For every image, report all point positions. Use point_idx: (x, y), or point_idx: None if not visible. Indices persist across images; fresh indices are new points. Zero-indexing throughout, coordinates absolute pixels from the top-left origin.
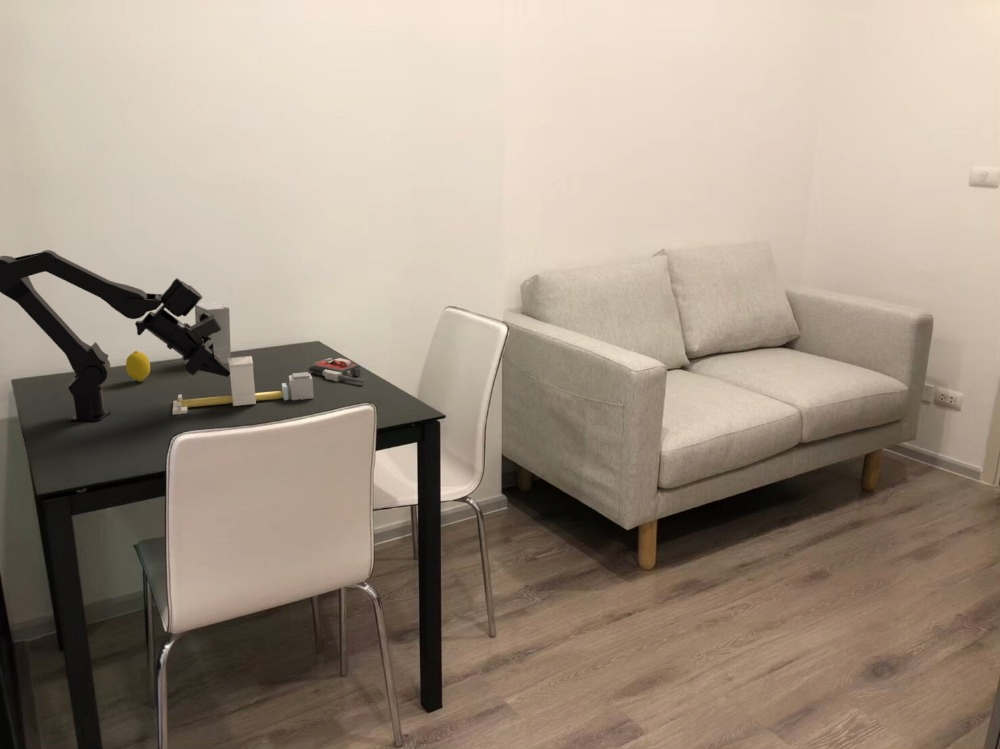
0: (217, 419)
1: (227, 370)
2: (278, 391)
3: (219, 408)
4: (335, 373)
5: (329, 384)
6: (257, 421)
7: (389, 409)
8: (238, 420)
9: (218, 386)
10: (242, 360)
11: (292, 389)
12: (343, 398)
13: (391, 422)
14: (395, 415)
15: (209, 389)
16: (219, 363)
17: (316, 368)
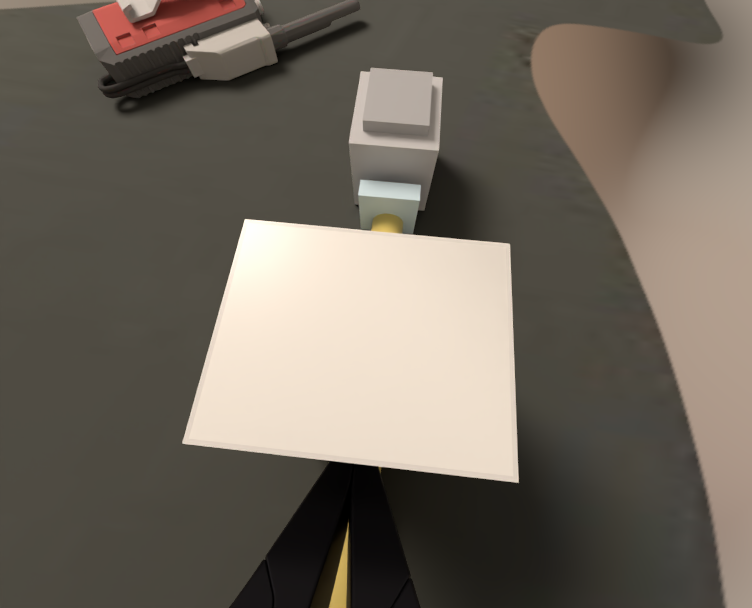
0: (592, 540)
1: (377, 472)
2: (389, 229)
3: (420, 506)
4: (256, 34)
5: (294, 84)
6: (654, 368)
7: (606, 18)
8: (627, 442)
9: (46, 459)
10: (371, 315)
11: (431, 177)
12: (464, 82)
13: (721, 37)
14: (661, 19)
15: (66, 515)
16: (417, 602)
17: (138, 69)
